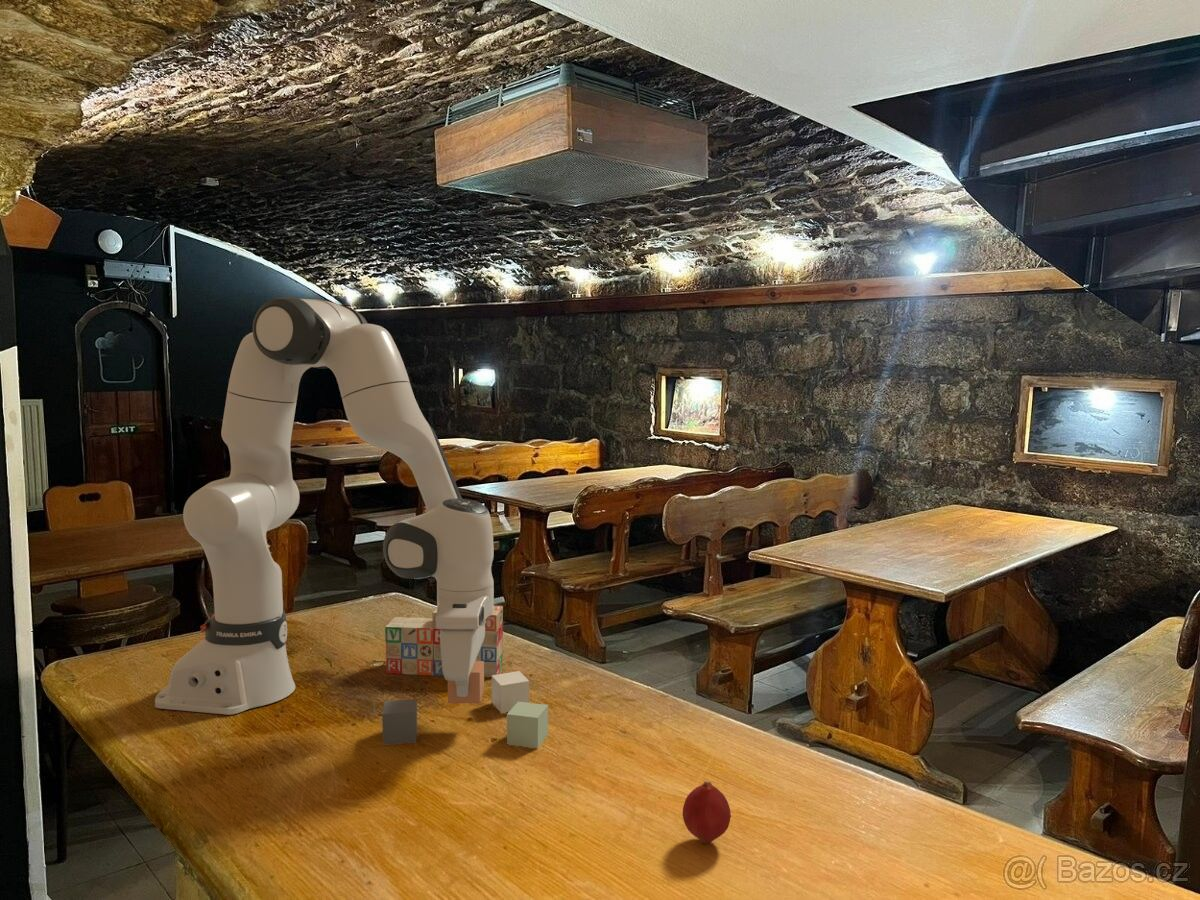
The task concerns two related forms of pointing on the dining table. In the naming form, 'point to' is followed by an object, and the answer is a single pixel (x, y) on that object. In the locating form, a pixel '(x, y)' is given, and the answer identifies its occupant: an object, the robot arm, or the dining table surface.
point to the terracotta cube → (474, 686)
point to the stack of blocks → (436, 645)
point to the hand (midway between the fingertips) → (466, 687)
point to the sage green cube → (527, 724)
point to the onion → (706, 813)
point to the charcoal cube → (399, 721)
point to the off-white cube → (509, 690)
